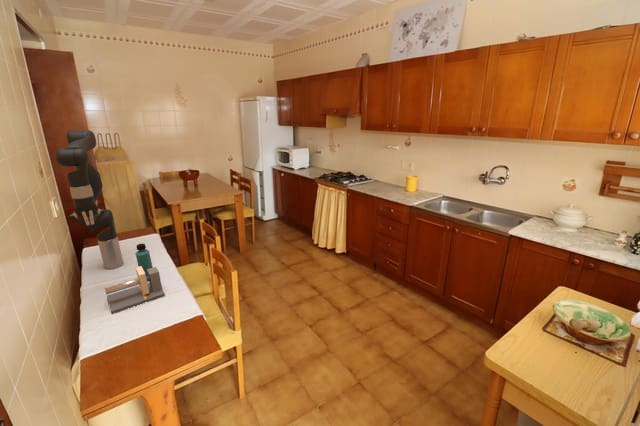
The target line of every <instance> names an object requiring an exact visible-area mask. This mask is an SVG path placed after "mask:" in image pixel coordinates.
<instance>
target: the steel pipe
mask: <svg viewBox="0 0 640 426" xmlns="http://www.w3.org/2000/svg"><path fill="white" fill-rule="evenodd" d="M146 279H147V283H149V281H150V277H149V275H147V276H146ZM139 284H141V283H140V279H139V278H138V277H136V278H134V279H131V280H127V281H125V282H121V283H117V284H114V285H111V286H108V287H104V290H105V291H104V292H105V294H106V296H107V295H111V294H114V293H117V292H120V291H124V290H127V289H130V288H133V287H136V286H139Z"/></svg>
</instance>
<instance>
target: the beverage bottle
mask: <svg viewBox="0 0 640 426" xmlns="http://www.w3.org/2000/svg"><path fill="white" fill-rule="evenodd" d="M136 250H137V251H136V252H135V257H136V261H137V262H136V263H137V267H140V266H142V268H143V270H144V272H145V274H146V276H147V275H148V272H147V269H150V268H153V267H154V266H153V262H152V259H151V255H150V254H151V253H150V250H149V249H147V246H146V244H145V243H138V244H137V245H136Z"/></svg>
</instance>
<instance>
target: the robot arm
mask: <svg viewBox="0 0 640 426" xmlns="http://www.w3.org/2000/svg"><path fill="white" fill-rule="evenodd" d="M66 140H67V143H68V145H67V146H64V147H61V148H59V149H58V150H57V151H56V153H55V160H56V162H57V163H58V164H59V165H60V166H62V167H65V168H66V167H67V168H68V167H75V168H76V169H75V170H73V171H71V172H68V173H67V174H66V177H67V182H68V185H69V190H70V197H71V198H72V203H73V205H74V206H73V207H74V210H73V211H74V212H73V213H72V214H70V215H69V218H70V220H71V219H72V220H73V221H75V222H76V223H77V224H79V225H81V226H86V227H87V228H86V229H87V232H89V233H90V234H91V233H95V232H96V229H101V228H105V229H104V230H102V231H100V232H98V233H97V234H96V240H97V243H98V248H99V251H100V255H101V258H102V263H103V266H104V269H107V270H112V269H113V270H114V269H117V268H119V267H122V266H123V265H124V260H123V255H122V254H123V253H122V251H121V246H120V242H119V238H118V234H117V230H116V225H115V218H114V215H113V212H112V210H110V209H103V208H102V209H101V208H99V207H98V205H97V203H96V202H97V199H98V198H99V195H100V194H101V192H102V189H103V181H102V178H101V174H100V172H99V171H98V170H97V169H96V168H95V167H94V166H93V165H92V164H90V163H89V154H88V152H90V151H91V150H93V149H95V148H96V146H97V139H96V135H95V133H94V132H93V131H91V129H90V130H89V129H76V130H75V129H72V130H71V129H70V130H67V131H66ZM78 216H79V217H80V218H82V219H84V220H82V219H80V218H79V217H78Z"/></svg>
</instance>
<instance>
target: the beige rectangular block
mask: <svg viewBox="0 0 640 426" xmlns="http://www.w3.org/2000/svg"><path fill="white" fill-rule="evenodd" d="M135 272H136V275H137V278H139V279H140V283H141V284H139V285H138V286H140V288H141V290H142V293H143V295H145V294H148V293H149V289H148V284H147V283H148V282H147V279H146V274H145V272H144V270H143V268H142V266H140V267H138V266H136V267H135Z"/></svg>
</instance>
